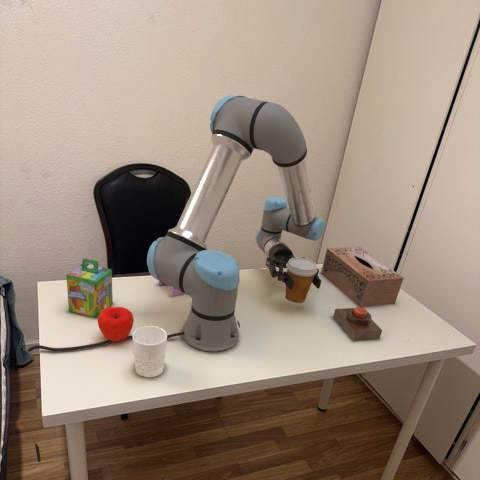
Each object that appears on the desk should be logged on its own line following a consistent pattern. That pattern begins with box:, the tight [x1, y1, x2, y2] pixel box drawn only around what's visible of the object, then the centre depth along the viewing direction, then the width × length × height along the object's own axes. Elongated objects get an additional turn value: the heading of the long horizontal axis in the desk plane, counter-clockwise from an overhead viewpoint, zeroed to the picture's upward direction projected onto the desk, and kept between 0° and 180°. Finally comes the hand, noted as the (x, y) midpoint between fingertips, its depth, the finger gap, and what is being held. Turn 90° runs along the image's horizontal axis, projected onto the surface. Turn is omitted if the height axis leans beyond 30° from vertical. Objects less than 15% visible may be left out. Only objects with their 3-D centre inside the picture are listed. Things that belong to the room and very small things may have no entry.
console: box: [332, 307, 383, 342], centre depth 132 cm, size 9×13×5 cm
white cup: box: [131, 325, 168, 378], centre depth 103 cm, size 8×8×10 cm
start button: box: [353, 306, 369, 318], centre depth 131 cm, size 4×4×2 cm
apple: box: [97, 306, 135, 342], centre depth 113 cm, size 9×9×8 cm
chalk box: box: [65, 258, 114, 319], centre depth 122 cm, size 9×9×15 cm
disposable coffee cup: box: [284, 257, 318, 304], centre depth 134 cm, size 10×10×12 cm
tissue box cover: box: [321, 246, 405, 308], centre depth 155 cm, size 26×14×10 cm, turn 21°
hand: (305, 284), depth 130 cm, fingers closed on disposable coffee cup, 8 cm apart
